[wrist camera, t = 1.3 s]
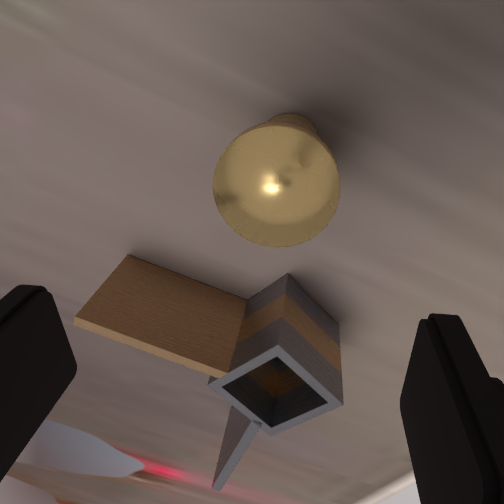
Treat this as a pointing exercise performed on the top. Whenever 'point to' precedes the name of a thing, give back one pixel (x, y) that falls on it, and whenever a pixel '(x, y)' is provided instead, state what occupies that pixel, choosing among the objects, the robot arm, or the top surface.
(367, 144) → the top surface
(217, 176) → the gold rounded cylinder
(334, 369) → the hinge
